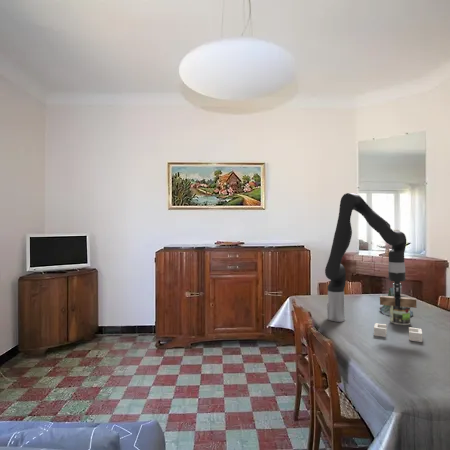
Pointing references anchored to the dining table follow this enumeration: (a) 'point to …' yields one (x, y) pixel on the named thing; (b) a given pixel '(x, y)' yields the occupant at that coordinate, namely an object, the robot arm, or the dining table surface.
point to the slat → (403, 301)
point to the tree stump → (386, 308)
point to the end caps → (414, 333)
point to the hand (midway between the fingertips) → (397, 304)
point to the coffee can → (400, 315)
